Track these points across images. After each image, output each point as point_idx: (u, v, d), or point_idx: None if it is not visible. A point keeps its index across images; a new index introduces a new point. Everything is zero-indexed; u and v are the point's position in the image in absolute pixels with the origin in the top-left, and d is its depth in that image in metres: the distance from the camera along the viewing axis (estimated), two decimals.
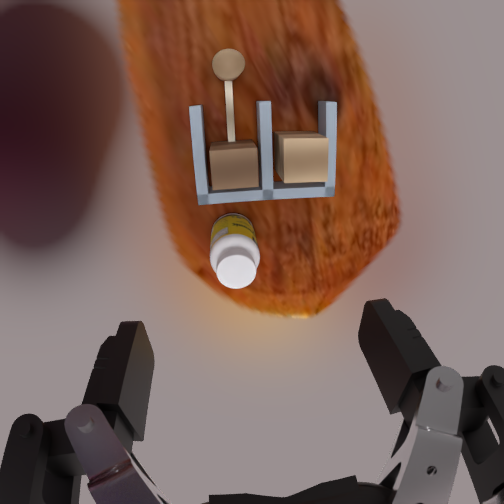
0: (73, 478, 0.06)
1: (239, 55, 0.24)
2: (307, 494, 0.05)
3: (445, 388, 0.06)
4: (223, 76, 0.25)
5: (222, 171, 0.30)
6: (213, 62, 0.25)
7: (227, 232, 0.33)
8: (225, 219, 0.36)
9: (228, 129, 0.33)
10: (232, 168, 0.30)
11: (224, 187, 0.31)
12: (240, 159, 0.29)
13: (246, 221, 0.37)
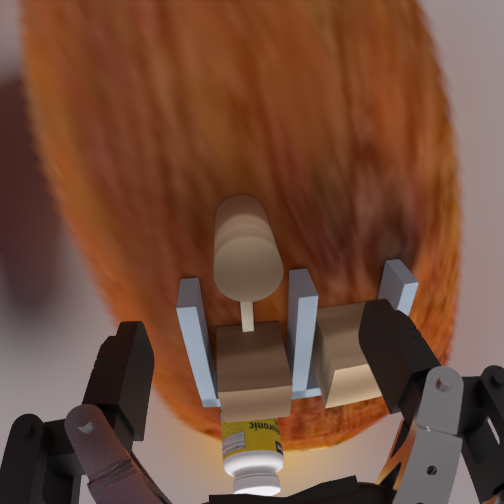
0: (73, 478, 0.06)
1: (271, 258, 0.13)
2: (306, 494, 0.05)
3: (445, 388, 0.06)
4: (238, 299, 0.14)
5: (238, 408, 0.19)
6: (216, 273, 0.13)
7: (245, 445, 0.22)
8: None
9: (243, 317, 0.21)
10: (253, 405, 0.19)
11: (241, 420, 0.20)
12: (265, 397, 0.18)
13: None
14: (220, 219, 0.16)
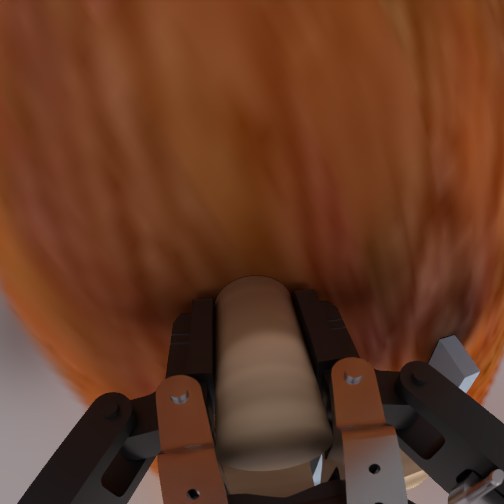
0: (142, 464, 0.07)
1: (317, 434, 0.06)
2: (306, 495, 0.05)
3: (351, 380, 0.07)
4: (256, 469, 0.07)
5: None
6: (221, 454, 0.07)
7: None
8: None
9: None
10: None
11: None
12: None
13: None
14: (223, 332, 0.09)
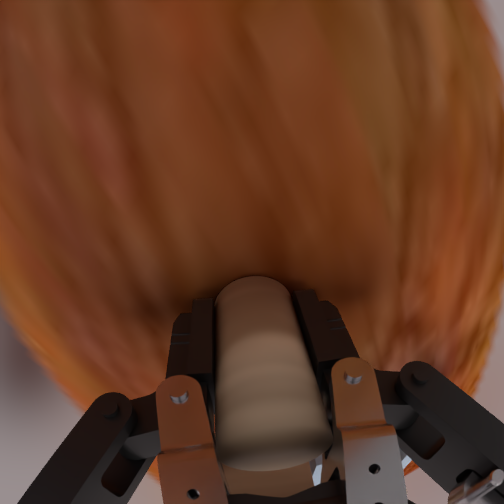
0: (142, 464, 0.07)
1: (317, 434, 0.06)
2: (307, 494, 0.05)
3: (351, 380, 0.07)
4: (256, 469, 0.07)
5: None
6: (220, 454, 0.07)
7: None
8: None
9: None
10: None
11: None
12: None
13: None
14: (223, 332, 0.09)
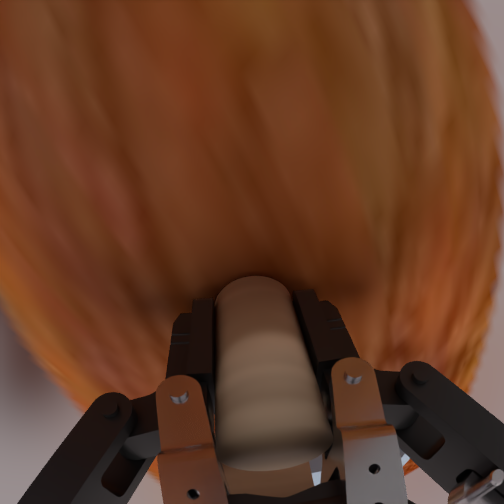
0: (142, 464, 0.07)
1: (317, 434, 0.06)
2: (307, 494, 0.05)
3: (351, 380, 0.07)
4: (256, 469, 0.07)
5: None
6: (220, 454, 0.07)
7: None
8: None
9: None
10: None
11: None
12: None
13: None
14: (223, 332, 0.09)
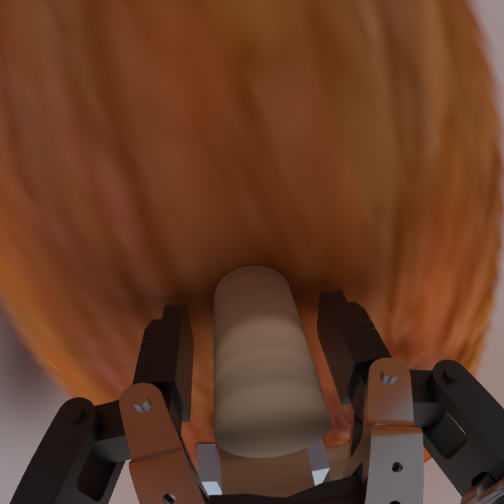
0: (114, 467, 0.07)
1: (315, 417, 0.07)
2: (307, 494, 0.05)
3: (388, 379, 0.07)
4: (255, 456, 0.08)
5: None
6: (219, 438, 0.07)
7: None
8: None
9: None
10: None
11: None
12: None
13: None
14: (222, 319, 0.10)
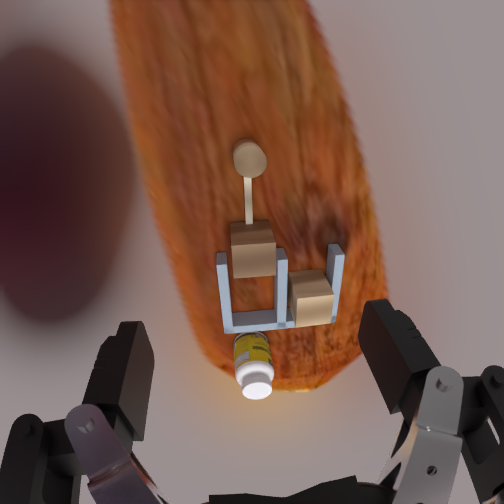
0: (73, 478, 0.06)
1: (261, 154, 0.28)
2: (306, 494, 0.05)
3: (445, 388, 0.06)
4: (245, 176, 0.29)
5: (242, 262, 0.33)
6: (235, 161, 0.28)
7: (249, 358, 0.41)
8: (246, 339, 0.44)
9: (246, 212, 0.36)
10: (252, 260, 0.33)
11: (244, 276, 0.34)
12: (259, 252, 0.33)
13: (262, 339, 0.45)
14: (236, 146, 0.31)
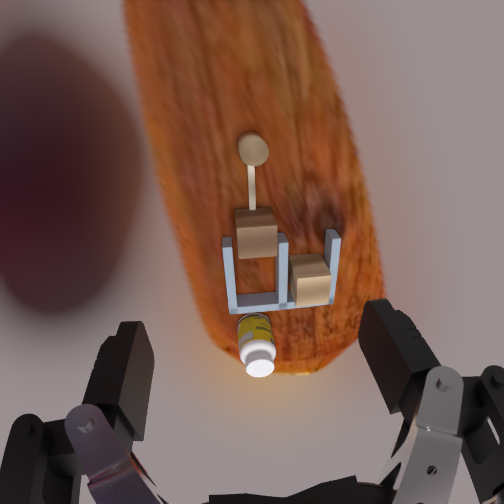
0: (73, 478, 0.06)
1: (263, 145, 0.31)
2: (307, 494, 0.05)
3: (445, 388, 0.06)
4: (249, 164, 0.32)
5: (247, 244, 0.36)
6: (241, 151, 0.31)
7: (252, 337, 0.44)
8: (249, 320, 0.47)
9: (250, 199, 0.39)
10: (256, 242, 0.36)
11: (248, 256, 0.37)
12: (262, 234, 0.36)
13: (265, 320, 0.48)
14: (241, 138, 0.34)
